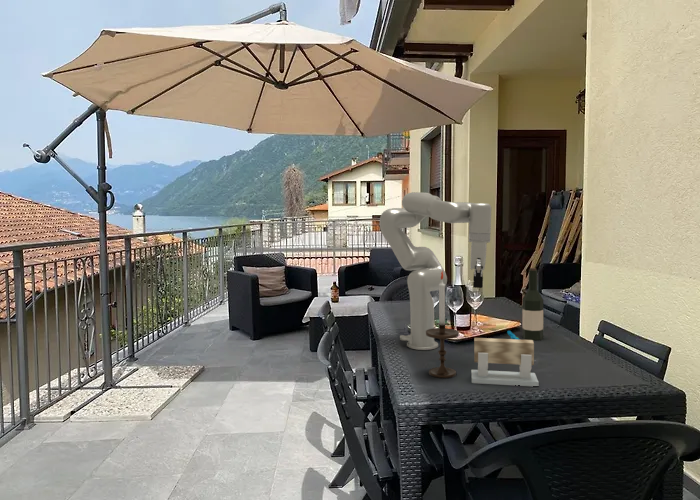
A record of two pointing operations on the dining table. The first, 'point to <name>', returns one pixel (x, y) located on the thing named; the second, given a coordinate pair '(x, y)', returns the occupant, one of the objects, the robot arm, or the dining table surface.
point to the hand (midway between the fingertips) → (477, 285)
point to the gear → (512, 335)
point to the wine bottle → (532, 310)
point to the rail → (503, 350)
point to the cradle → (504, 373)
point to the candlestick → (442, 337)
